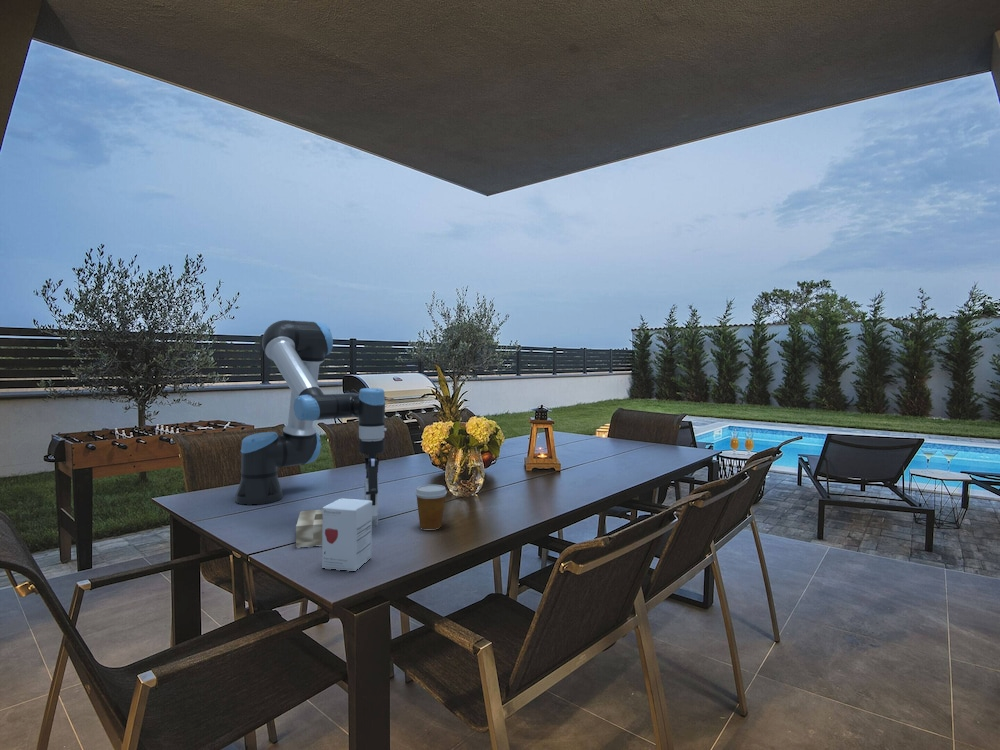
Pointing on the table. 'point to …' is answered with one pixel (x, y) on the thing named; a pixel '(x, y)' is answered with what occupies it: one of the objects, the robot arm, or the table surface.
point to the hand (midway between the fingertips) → (371, 509)
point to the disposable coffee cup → (430, 505)
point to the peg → (375, 518)
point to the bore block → (309, 528)
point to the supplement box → (346, 534)
